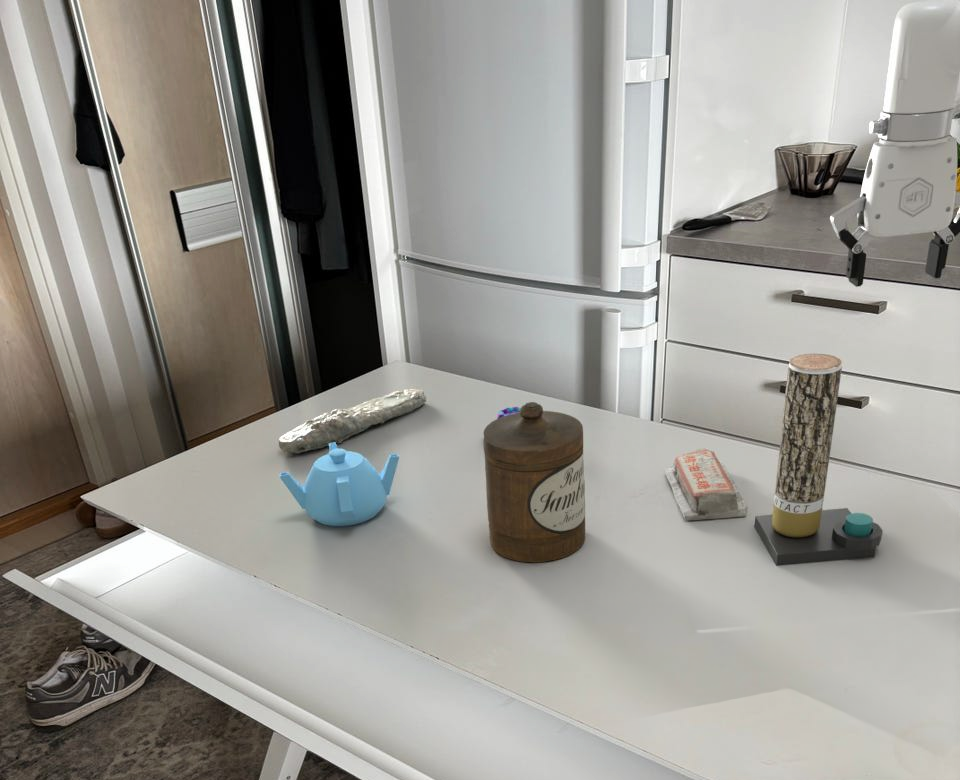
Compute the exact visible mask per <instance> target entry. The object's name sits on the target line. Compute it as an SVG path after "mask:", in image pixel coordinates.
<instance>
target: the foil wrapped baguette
mask: <svg viewBox="0 0 960 780" xmlns="http://www.w3.org/2000/svg"><path fill="white" fill-rule="evenodd" d="M425 403H427V395H425V392H424V391H423V388H410V389H403V390H402V389H401V390H395V391H393V392H389V393H387V394H386V395H383V396H380V397H376V398H373V399H370V400H368V401H364V402H363V403H360V404H357V405H355V406H353V407H349V408H342V409H341V408H335V409H333V410H331V411H330V412H329V411H326V412H324V413H323V414H320V415H319V416H316V417H314V418H312V419H308V420H306V422H305V423H303V424H300V425H298V426H297V427H295V428H293V429H292V430H290V431H288V432H286V433H285V434H283V435H281V436H280V437H279V439H278V447H279V449H280V450H281V451H282V452H285V453H294V454H300V453H303V452H307V451H312V450H318V449H323V448H325V447H329V443H334V442H336V443H337V444H342V442H343V441H345V440H348V439H349V438H350V437H352V436H354V435H358V434H359V433H361V432H364V431H366V430H367V429H368V428H370V427H371V426H374V425H378V424H384V423H385V422H386V421H388V420H390V419H393V418H396V417H400V416H403V415H406V414H409V413H412V412H413V411H414V410H415V409H417V408H421V406H422V405H424V404H425Z"/></svg>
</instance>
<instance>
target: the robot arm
mask: <svg viewBox="0 0 960 780" xmlns="http://www.w3.org/2000/svg"><path fill="white" fill-rule="evenodd" d="M959 79H960V0H919V1H914V2H909V3H907V4H904V5H903V6H902V7H901V8H900V9H898V12H897V14H896V15H895V18H894V23H893V28H892V37H891V45H890V53H889V60H888V69H887V77H886V85H885V94H884V101H883V109H882V110H883V111H881V112H880V118H878V119H876V120H871V121H870V122H869V125H868V131H869V134H870V135H873V134H876V135H877V137H878V138H879V141H874V142H873V145H872V148H871V151H870V153H869V157H868V161H867V164H866V167H865V171H864V175H863V180H862V185H861V190H860V195H859V197H858V198H856V199H854V200H853V201H851V202H850V203H848V204H847V205H845V206H843V207H841V208H840V209H838V210H837V211H835V212H833V213H832V214H831V215H830V217H829V221H830V223H831V226H832V228H833V230H834V232H835V236H836V238H838V240H839V241H840V242H841V243H842V244H843V245H844V246H845V248H846V249H848V252H847V262H846V269H845V270H846V271H845V276H846V278H847V279H848V282H849V283H850V284H852V285H853V286H854V287H856V288H858V287H861V286H863V284H864V277H865V271H866V263H867V262H866V261H867V253H865V252H864V249H865V248H866V247H867V246H868V244H869V243H870V242H871V241H872V240H873V239H874V238H875V237H877V238H887V237H897V236H907V235H916V234H917V235H918V234H925V233H926V234H927V233H932V235H933V236H934V238H933V239H931V240H930V241H929V244H928V250H927V256H926V263H925V268H924V273H925V274H927V275H928V276H931V277H932V278H934V279H940V278H941V277H942V274H943V273H942V272H943V270H944V269H945V268H946V265H947V258H948V253H949V246H950V245H951V244H952V243H953V242H954V241H955V237H957V236H958V235H959V234H960V192H959V191H958V190H957V181H958V179H957V178H958V139H957V137H954V136H950V134H951V131H952V130H951V129H952V124H953V116H954V112H955V104H956V98H957V93H958V86H959V81H960V80H959ZM956 205H957V207H958V211H957V213H956V215H955V216H954V211H955V210H954V209H955V206H956ZM856 215H857V216H856ZM855 216H856V223H857V224H856V225H857V228H856V229H855V231H854V232H852V233H851V232H850V231H849V228H848V225H847V223H848V221H849V220H850V219H852V218H853V217H855ZM953 216H954V217H953Z"/></svg>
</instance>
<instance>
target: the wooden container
mask: <svg viewBox="0 0 960 780" xmlns="http://www.w3.org/2000/svg"><path fill="white" fill-rule="evenodd" d="M519 408H520V412H519V413H514V414H511V415H507V416H503V417H501V418H498V419H497V418H496V419H494V420H492V421H491V422H489V424H487V425H486V426H485V428H484V429H483V432H482V433H483V435H482V445H483V453H484V467H485V468H484V471H485V490H486V493H485V494H486V509H487V510H486V511H487V521H488V534H489V543H490V547H491V548H492V550H493V551H494V552H495V553H497V554H498V555H499V556H501V557H504V558H506V559H509V560H512V561H518V562H523V563H524V562H525V563H543V562H551V561H556V560H559V559H562V558H565V557H567V556H571V554H574V553H575V552H577V551H578V550H579V549H580V548H581V547H582V546H583V545H584V543H585V540H586V481H585V460H584V459H585V458H584V427H583V424H582V423H581V421H580V420H579V419H577V418H576V417H575V416H572V415H569V414H567V413H563V412H557V411H550V410H544V408H543V406H542V405H541V404H540V403H538V402H534V401H529V402H526V403H524V404H523V405H522V406H521V407H519Z"/></svg>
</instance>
